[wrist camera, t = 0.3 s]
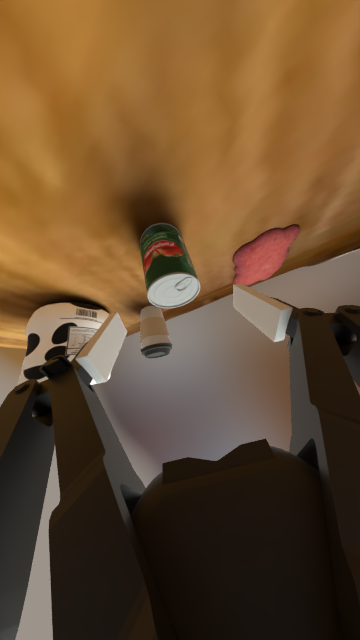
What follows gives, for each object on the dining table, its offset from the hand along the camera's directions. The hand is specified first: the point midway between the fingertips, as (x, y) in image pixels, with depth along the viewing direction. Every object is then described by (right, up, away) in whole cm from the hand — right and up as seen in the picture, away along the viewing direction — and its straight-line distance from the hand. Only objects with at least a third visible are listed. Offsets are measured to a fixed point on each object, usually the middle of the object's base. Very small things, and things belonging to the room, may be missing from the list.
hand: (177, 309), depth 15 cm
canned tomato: (-3, +12, +9) cm, 16 cm away
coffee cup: (-9, +2, +28) cm, 30 cm away
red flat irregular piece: (+21, +14, +19) cm, 31 cm away
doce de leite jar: (-28, 0, +21) cm, 35 cm away
